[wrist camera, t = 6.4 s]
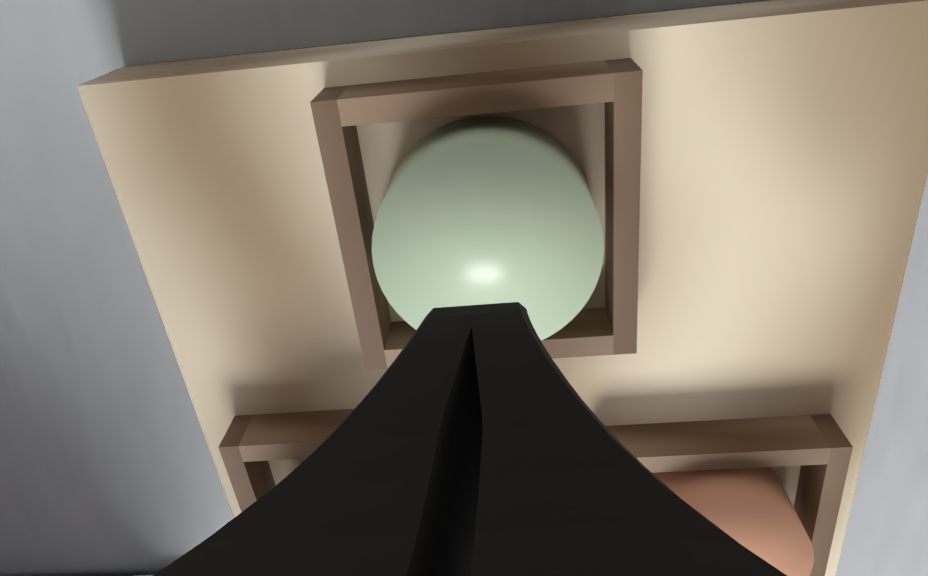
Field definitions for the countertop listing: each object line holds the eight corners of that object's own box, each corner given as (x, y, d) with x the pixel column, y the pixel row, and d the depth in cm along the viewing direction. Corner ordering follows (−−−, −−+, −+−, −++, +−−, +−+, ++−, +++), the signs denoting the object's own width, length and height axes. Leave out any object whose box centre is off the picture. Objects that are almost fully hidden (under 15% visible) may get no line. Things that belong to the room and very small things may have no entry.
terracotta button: (618, 570, 20) (628, 628, 18) (618, 454, 18) (631, 508, 16) (776, 565, 19) (801, 623, 18) (796, 445, 17) (826, 499, 16)
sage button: (400, 314, 16) (390, 358, 14) (368, 126, 14) (352, 154, 12) (593, 301, 15) (604, 345, 14) (590, 106, 13) (603, 132, 12)
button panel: (287, 564, 23) (258, 652, 20) (123, 66, 16) (41, 100, 13) (803, 544, 22) (847, 636, 19) (909, -15, 14) (1012, 3, 11)
